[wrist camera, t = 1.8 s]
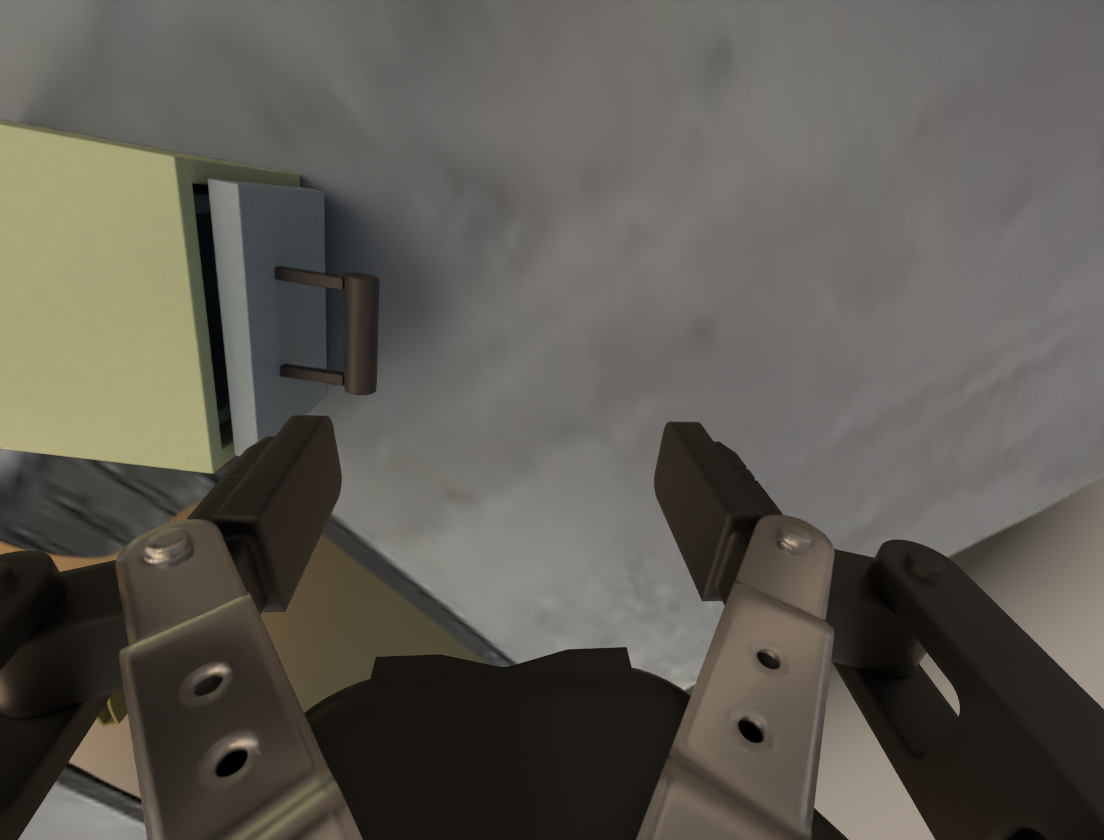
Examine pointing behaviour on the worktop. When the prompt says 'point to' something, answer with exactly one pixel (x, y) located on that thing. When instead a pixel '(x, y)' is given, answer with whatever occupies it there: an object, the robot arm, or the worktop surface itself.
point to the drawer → (276, 306)
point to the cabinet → (107, 300)
